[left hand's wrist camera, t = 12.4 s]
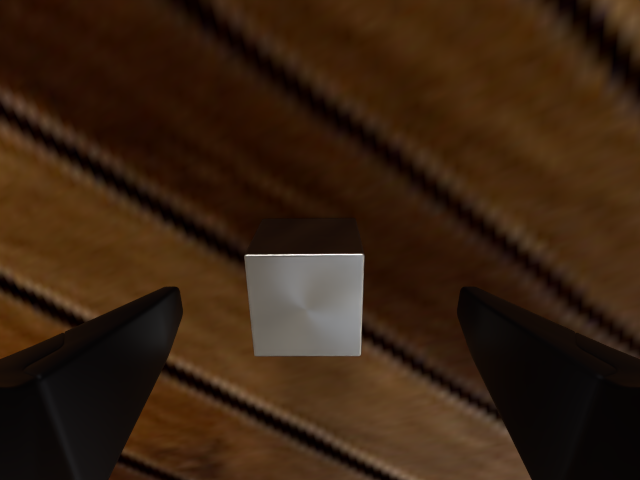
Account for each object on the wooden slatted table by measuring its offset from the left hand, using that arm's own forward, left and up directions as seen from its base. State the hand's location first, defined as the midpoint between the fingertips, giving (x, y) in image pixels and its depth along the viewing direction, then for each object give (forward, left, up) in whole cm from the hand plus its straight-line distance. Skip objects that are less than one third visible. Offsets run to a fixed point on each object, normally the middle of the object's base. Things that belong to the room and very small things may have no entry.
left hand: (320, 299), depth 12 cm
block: (-1, +2, -6) cm, 6 cm away
